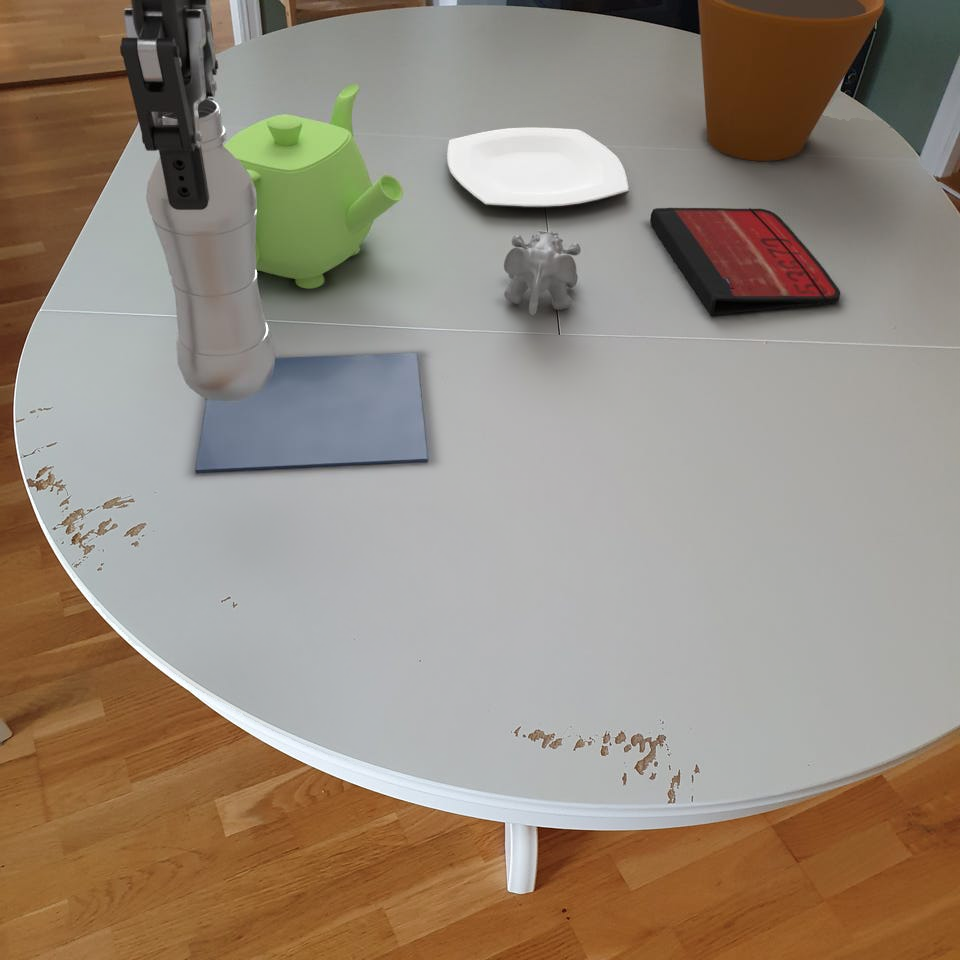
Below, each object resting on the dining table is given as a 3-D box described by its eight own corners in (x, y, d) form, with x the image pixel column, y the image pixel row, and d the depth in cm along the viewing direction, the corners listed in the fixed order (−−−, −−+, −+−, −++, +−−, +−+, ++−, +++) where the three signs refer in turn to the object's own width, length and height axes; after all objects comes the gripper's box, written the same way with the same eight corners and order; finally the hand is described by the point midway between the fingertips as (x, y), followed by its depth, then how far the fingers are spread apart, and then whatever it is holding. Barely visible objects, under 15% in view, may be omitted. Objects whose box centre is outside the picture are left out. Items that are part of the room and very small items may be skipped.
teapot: (353, 336, 96) (343, 191, 86) (182, 283, 103) (152, 142, 92) (459, 230, 113) (462, 98, 102) (306, 191, 119) (294, 62, 108)
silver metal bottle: (186, 362, 69) (130, 88, 56) (279, 356, 71) (246, 86, 57) (180, 416, 65) (118, 132, 51) (280, 410, 66) (245, 129, 52)
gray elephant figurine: (570, 275, 106) (577, 213, 101) (597, 335, 98) (606, 270, 93) (490, 280, 105) (493, 217, 100) (510, 341, 97) (514, 276, 91)
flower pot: (799, 192, 124) (844, 32, 110) (642, 142, 134) (665, -10, 120) (864, 136, 138) (911, -12, 124) (717, 95, 148) (746, -47, 134)
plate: (587, 135, 135) (588, 121, 134) (648, 210, 119) (651, 195, 117) (430, 147, 130) (430, 133, 129) (472, 227, 114) (473, 212, 112)
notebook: (714, 298, 100) (651, 206, 114) (709, 316, 101) (647, 223, 116) (850, 293, 103) (772, 204, 118) (843, 311, 104) (766, 221, 119)
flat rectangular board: (195, 472, 81) (195, 470, 80) (213, 362, 92) (212, 360, 92) (427, 461, 83) (427, 458, 83) (416, 355, 94) (416, 352, 94)
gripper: (92, -174, 51) (152, 133, 62) (23, -115, 40) (111, 241, 52) (234, -169, 51) (267, 134, 63) (203, -110, 41) (250, 240, 52)
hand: (197, 181), depth 57 cm, fingers closed on silver metal bottle, 6 cm apart
